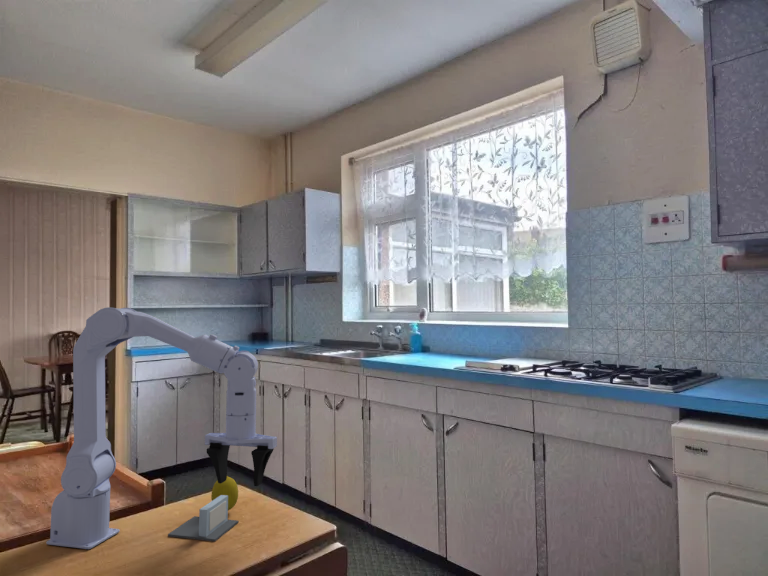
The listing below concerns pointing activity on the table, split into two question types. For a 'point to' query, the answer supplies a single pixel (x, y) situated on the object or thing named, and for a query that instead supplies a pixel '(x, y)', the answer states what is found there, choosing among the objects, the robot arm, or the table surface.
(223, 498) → the plaque
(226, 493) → the lemon
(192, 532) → the mat
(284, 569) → the table surface
